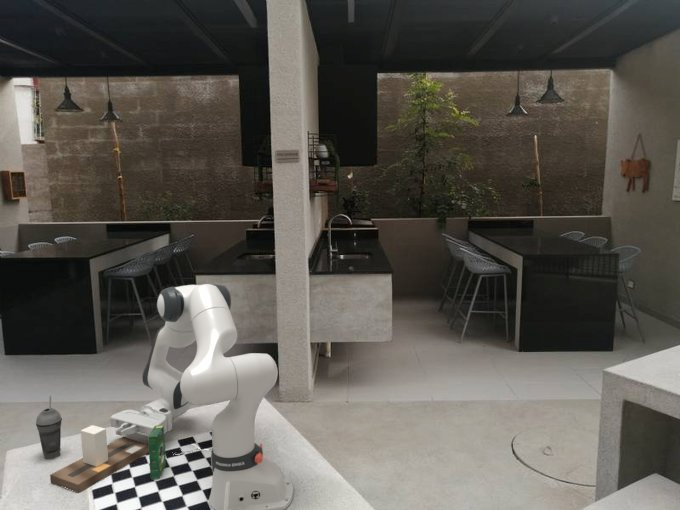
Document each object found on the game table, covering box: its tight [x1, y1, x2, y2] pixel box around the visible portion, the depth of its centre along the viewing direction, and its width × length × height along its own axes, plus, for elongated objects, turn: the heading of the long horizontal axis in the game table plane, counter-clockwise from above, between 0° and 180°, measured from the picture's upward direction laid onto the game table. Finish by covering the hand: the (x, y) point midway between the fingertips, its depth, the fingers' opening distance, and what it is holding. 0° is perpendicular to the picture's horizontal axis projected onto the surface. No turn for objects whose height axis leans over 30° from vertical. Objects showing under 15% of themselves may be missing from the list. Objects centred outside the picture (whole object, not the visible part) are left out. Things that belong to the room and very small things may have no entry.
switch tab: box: [80, 424, 108, 467], centre depth 159 cm, size 4×6×10 cm, turn 63°
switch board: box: [49, 436, 149, 493], centre depth 162 cm, size 26×12×3 cm, turn 153°
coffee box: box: [147, 425, 167, 481], centre depth 158 cm, size 8×3×13 cm, turn 4°
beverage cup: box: [35, 395, 63, 461], centre depth 168 cm, size 7×7×20 cm
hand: (118, 433), depth 167 cm, fingers closed
